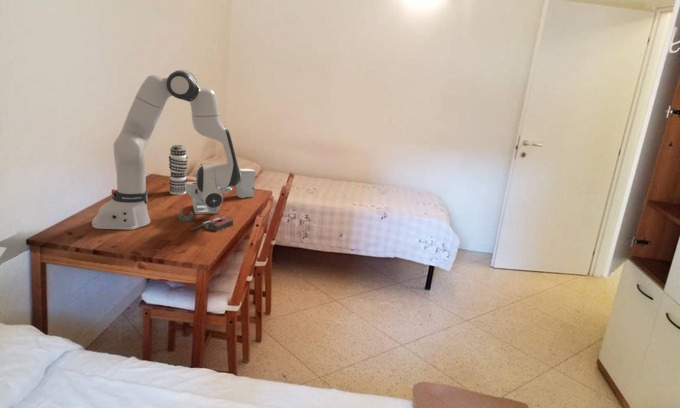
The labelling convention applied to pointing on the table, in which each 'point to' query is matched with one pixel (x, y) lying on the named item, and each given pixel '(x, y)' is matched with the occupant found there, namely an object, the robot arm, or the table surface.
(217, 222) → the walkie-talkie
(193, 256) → the table surface
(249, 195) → the skincare box
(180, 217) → the cable clip
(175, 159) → the decorative candle
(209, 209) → the box
